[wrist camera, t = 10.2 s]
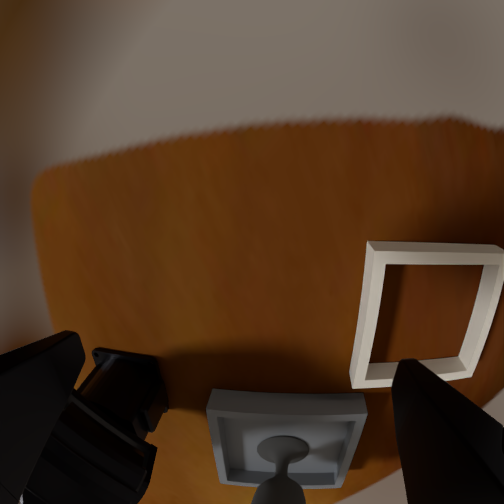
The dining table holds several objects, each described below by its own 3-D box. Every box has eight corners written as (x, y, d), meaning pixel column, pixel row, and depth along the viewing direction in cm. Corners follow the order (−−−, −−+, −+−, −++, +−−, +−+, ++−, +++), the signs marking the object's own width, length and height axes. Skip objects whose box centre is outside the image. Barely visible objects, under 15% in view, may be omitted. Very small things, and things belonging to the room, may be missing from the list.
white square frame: (349, 371, 23) (352, 388, 21) (367, 241, 20) (374, 250, 18) (462, 362, 22) (471, 376, 20) (495, 244, 18) (509, 253, 16)
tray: (224, 465, 29) (220, 483, 27) (212, 388, 25) (205, 408, 23) (339, 469, 28) (340, 487, 25) (363, 392, 24) (367, 413, 21)
